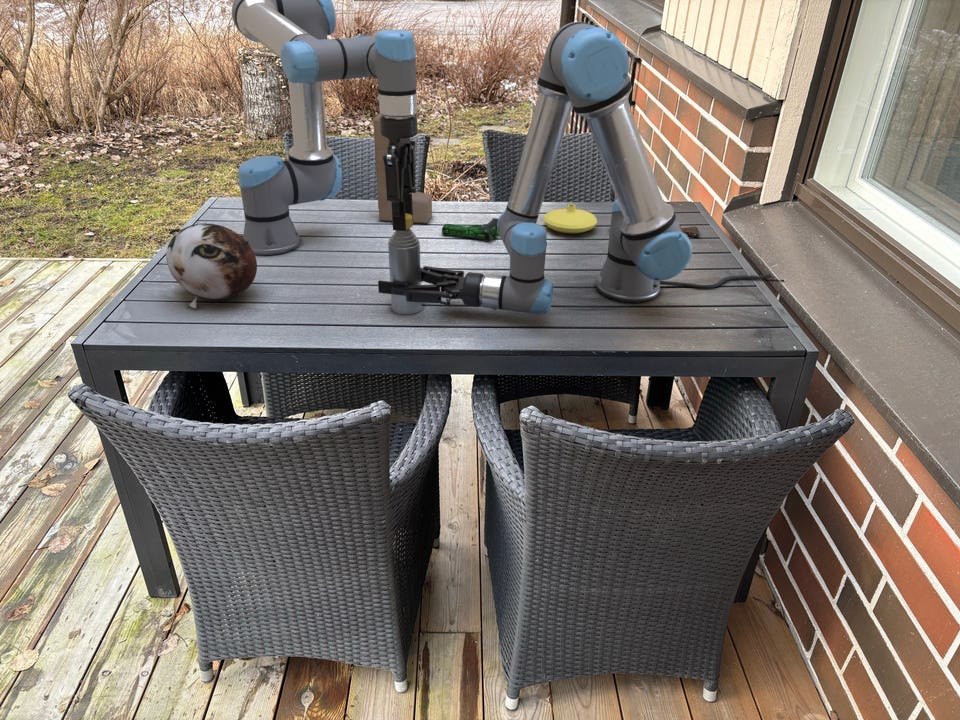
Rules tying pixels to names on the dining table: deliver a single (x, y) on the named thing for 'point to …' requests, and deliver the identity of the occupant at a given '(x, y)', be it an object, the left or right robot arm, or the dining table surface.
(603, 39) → the right robot arm
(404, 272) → the bottle
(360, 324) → the dining table surface
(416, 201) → the decorative block
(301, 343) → the dining table surface
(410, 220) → the cap
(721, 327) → the dining table surface
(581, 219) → the yellow pot lid
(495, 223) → the handgun
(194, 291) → the cat face ball
